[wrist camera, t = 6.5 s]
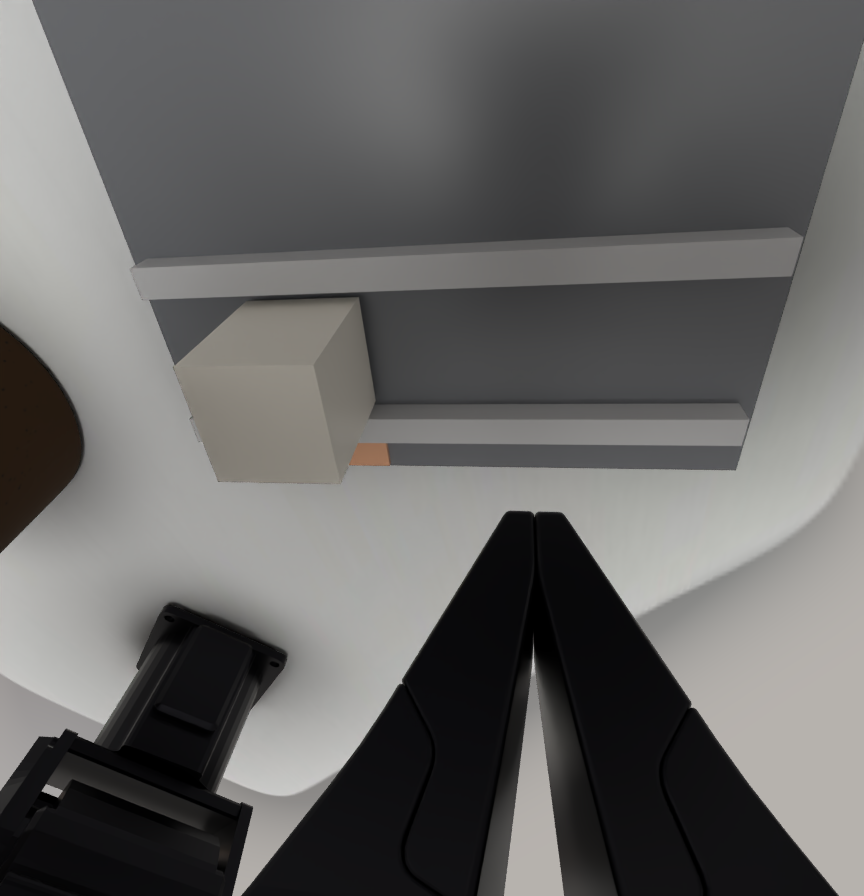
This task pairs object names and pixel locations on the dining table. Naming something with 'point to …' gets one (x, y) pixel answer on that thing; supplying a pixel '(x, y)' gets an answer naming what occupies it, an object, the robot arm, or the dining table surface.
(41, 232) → the dining table surface
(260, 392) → the tab
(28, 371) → the olive oil
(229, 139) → the switch panel
